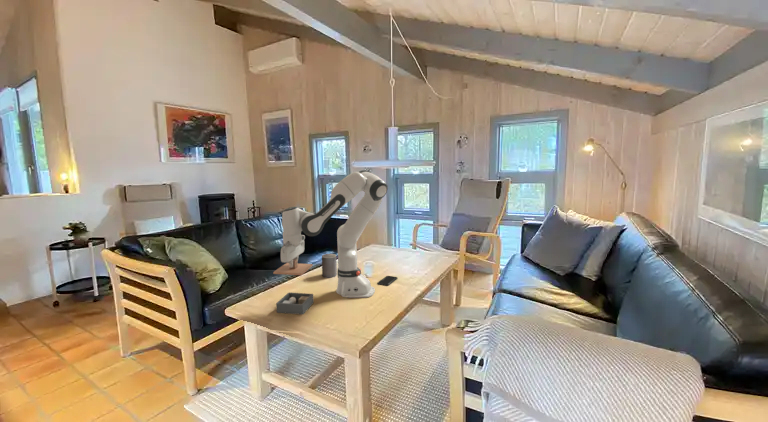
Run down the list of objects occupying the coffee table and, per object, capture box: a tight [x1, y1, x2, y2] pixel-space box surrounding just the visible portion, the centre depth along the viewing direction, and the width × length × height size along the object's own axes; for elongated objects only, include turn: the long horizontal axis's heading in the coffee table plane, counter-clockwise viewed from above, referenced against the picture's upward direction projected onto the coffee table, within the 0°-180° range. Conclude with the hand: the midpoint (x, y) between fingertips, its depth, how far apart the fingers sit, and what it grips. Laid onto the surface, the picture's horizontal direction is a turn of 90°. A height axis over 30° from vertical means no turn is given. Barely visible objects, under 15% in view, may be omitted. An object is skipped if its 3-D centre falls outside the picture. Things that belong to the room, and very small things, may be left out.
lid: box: [273, 259, 314, 276], centre depth 170 cm, size 15×15×5 cm
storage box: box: [275, 292, 315, 315], centre depth 173 cm, size 14×14×6 cm
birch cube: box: [299, 296, 308, 304], centre depth 176 cm, size 4×4×4 cm
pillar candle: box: [321, 253, 338, 279], centre depth 222 cm, size 10×10×15 cm
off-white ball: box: [289, 297, 296, 304], centre depth 177 cm, size 4×4×4 cm
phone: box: [376, 275, 398, 287], centre depth 212 cm, size 8×1×15 cm
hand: (293, 265), depth 170 cm, fingers closed on lid, 3 cm apart
